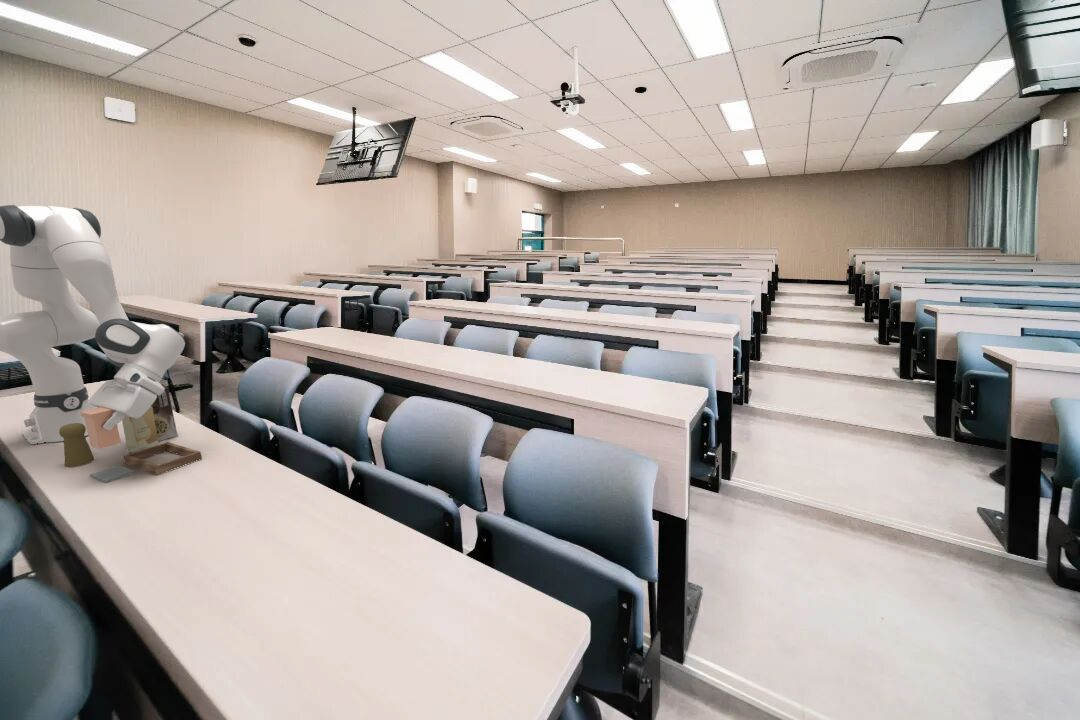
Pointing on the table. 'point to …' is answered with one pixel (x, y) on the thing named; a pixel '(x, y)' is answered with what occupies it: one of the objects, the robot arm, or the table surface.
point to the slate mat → (111, 473)
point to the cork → (75, 445)
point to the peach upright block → (100, 428)
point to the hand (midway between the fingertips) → (99, 427)
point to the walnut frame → (188, 457)
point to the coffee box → (164, 416)
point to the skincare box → (140, 432)
